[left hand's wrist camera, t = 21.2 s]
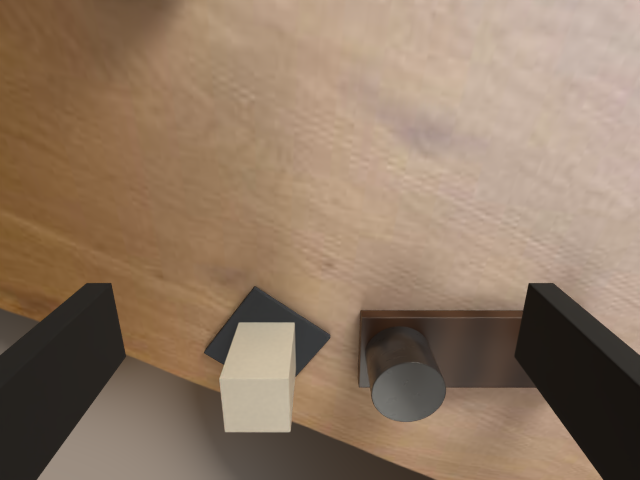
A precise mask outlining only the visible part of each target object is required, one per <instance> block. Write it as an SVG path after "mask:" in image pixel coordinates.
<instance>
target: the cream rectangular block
mask: <svg viewBox="0 0 640 480" xmlns="http://www.w3.org/2000/svg"><path fill="white" fill-rule="evenodd" d="M295 373H296V352H295V323H294V322H239V324H238V326H237V329H236V332H235V335H234V338H233V341H232V344H231V347H230V349H229V352H228V355H227V358H226V361H225V364H224V367H223V370H222V372H221V375H220V378H219V381H220V391H221V400H222V409H223V418H224V428H225V432H290V431H291V420H292V408H293V396H294V385H295Z"/></svg>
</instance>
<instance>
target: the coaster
mask: <svg viewBox="0 0 640 480" xmlns="http://www.w3.org/2000/svg"><path fill="white" fill-rule="evenodd" d="M239 322H294V323H295V352H296V373H295V377H296V376H297V375H298V373H299V372H300V371H301V370H302V369H303V368H304V367H305V366H306V365H307V363H308V362H309V361H310V360H311V359H312V358H313V357H314V356H315V355H316V353H317V352H318V351H319V350H320V349H321V348H322V347H323V346H324V344H325V343H326V342H327V341H328V340H329V339H330V335H329V334H328V333H326V332H325V331H323V330H322V329H320V328H319V327H317V326H316V325H314V324H313V323H311V322H309V321H308V320H306V319H305V318H303V317H302V316H300V315H299V314H297V313H296V312H294V311H292V310H291V309H289V308H288V307H286V306H285V305H283V304H282V303H280V302H279V301H277V300H275V299H274V298H272V297H271V296H269V295H268V294H266V293H265V292H263V291H262V290H260V289H258V288H257V287H254V288H253V289H252V290H251V292H250V293H249V294H248V296H247V297H246V298H245V299H244V301H243V302H242V303H241V305H240V306H239V307H238V308H237V310H236V311H235V312H234V314H233V315H232V316H231V317H230V319H229V320H228V321H227V323H226V324H225V325H224V326H223V328H222V329H221V330H220V332H219V333H218V334H217V335H216V337H215V338H214V339H213V341H212V342H211V343H210V344H209V346H208V347H207V348H206V350H205V352H204V353H205V354H206V355H208V356H210V357H212V358H213V359H215V360H217V361H218V362H220V363H222V364H225V361H226V358H227V355H228V352H229V349H230V347H231V344H232V341H233V338H234V335H235V332H236V329H237V326H238V324H239Z"/></svg>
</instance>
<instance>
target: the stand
mask: <svg viewBox="0 0 640 480" xmlns="http://www.w3.org/2000/svg"><path fill="white" fill-rule="evenodd" d="M522 315H523V311H360V336H359V361H358V384H359V387H370V391H371V397H372V401H373V404H374V406H375V407H376V409H377V410H378V411H379V412H380V413H381V414H382V415H384V416H385V417H387V418H389V419H392V420H395V421H400V422H412V421H417V420H421V419H423V418H426V417H428V416H429V415H431V414H433V413H434V412H435V411H436V410H437V409H438V408H439V407H440V406H441V404H442V402H443V401H444V398H445V394H446V387H469V388H537V387H536V386H535V385H534V383H533V382H532V381H531V379H530V378H529V376H528V375H527V374H526V372H525V371H524V370H523V368H522V367H521V365H520V364H519V363H518V361H517V360H516V359H515V357H514V354H515V349H516V344H517V339H518V334H519V329H520V324H521V319H522Z"/></svg>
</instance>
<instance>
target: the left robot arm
mask: <svg viewBox="0 0 640 480" xmlns="http://www.w3.org/2000/svg"><path fill="white" fill-rule="evenodd" d="M125 357H126V354H125V349H124V344H123V339H122V334H121V329H120V324H119V319H118V315H117V310H116V305H115V300H114V295H113V290H112V285H111V283H86V284H85V285H84V286H83V287H82V288H80V289H79V290H78V291H77V292H76V293H74V294H73V295H72V296H71V297H70V298H68V299H67V300H66V301H65V302H64V303H62V304H61V305H60V306H59V307H58V308H56V309H55V310H54V311H53V312H52V313H50V314H49V315H48V316H47V317H46V318H44V319H43V320H42V321H41V322H40V323H38V324H37V325H36V326H35V327H34V328H33V329H31V330H30V331H29V332H28V333H26V334H25V335H24V336H23V337H22V338H20V339H19V340H18V341H17V342H16V343H15V344H13V345H12V346H11V347H10V348H9V349H7V350H6V351H5V352H4V353H2V354H1V355H0V480H37V479H38V477H39V476H40V474H41V473H42V472H43V470H44V469H45V467H46V466H47V465H48V463H49V462H50V461H51V459H52V458H53V456H54V455H55V454H56V452H57V451H58V450H59V448H60V447H61V445H62V444H63V443H64V441H65V440H66V439H67V437H68V436H69V434H70V433H71V432H72V430H73V429H74V427H75V426H76V425H77V423H78V422H79V421H80V419H81V418H82V416H83V415H84V414H85V412H86V411H87V410H88V408H89V407H90V405H91V404H92V403H93V401H94V400H95V399H96V397H97V396H98V394H99V393H100V392H101V390H102V389H103V387H104V386H105V385H106V383H107V382H108V381H109V379H110V378H111V376H112V375H113V374H114V372H115V371H116V370H117V368H118V367H119V365H120V364H121V363H122V361H123V360H124V359H125ZM514 357H515V359H516V360H517V361H518V363H519V364H520V365H521V367H522V368H523V370H524V371H525V372H526V374H527V375H528V376H529V378H530V379H531V381H532V382H533V383H534V385H535V386H536V387H537V389H538V390H539V392H540V393H541V394H542V396H543V397H544V399H545V400H546V401H547V403H548V404H549V405H550V407H551V408H552V410H553V411H554V412H555V414H556V415H557V416H558V418H559V419H560V421H561V422H562V423H563V425H564V426H565V427H566V429H567V430H568V432H569V433H570V434H571V436H572V437H573V439H574V440H575V441H576V443H577V444H578V445H579V447H580V448H581V450H582V451H583V452H584V454H585V455H586V456H587V458H588V459H589V461H590V462H591V463H592V465H593V466H594V467H595V469H596V470H597V472H598V473H599V474H600V476H601V477H602V479H603V480H640V355H639V354H638V353H636V352H635V351H634V350H633V349H632V348H630V347H629V346H628V345H627V344H626V343H624V342H623V341H622V340H621V339H620V338H618V337H617V336H616V335H615V334H614V333H612V332H611V331H610V330H609V329H608V328H606V327H605V326H604V325H603V324H602V323H600V322H599V321H598V320H597V319H596V318H594V317H593V316H592V315H591V314H590V313H588V312H587V311H586V310H585V309H584V308H582V307H581V306H580V305H579V304H578V303H576V302H575V301H574V300H573V299H572V298H570V297H569V296H568V295H567V294H566V293H564V292H563V291H562V290H561V289H560V288H558V287H557V286H556V285H555V284H554V283H529V285H528V290H527V295H526V300H525V305H524V310H523V315H522V319H521V324H520V329H519V334H518V339H517V344H516V349H515V354H514Z"/></svg>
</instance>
